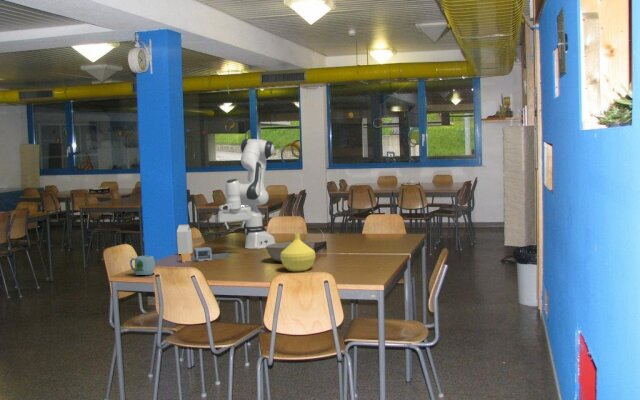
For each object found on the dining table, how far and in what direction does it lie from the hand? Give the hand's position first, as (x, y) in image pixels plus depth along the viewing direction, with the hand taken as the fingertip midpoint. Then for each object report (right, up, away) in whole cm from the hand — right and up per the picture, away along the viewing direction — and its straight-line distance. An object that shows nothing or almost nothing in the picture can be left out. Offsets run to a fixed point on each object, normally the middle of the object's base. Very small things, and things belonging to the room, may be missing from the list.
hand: (235, 228), depth 408 cm
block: (-28, -19, -8) cm, 35 cm away
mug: (-44, -23, -47) cm, 68 cm away
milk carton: (-35, -18, +23) cm, 45 cm away
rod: (-15, -19, -4) cm, 24 cm away
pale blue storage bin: (-19, -19, -5) cm, 27 cm away
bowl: (+35, -18, -25) cm, 47 cm away
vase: (+40, -19, -57) cm, 73 cm away
